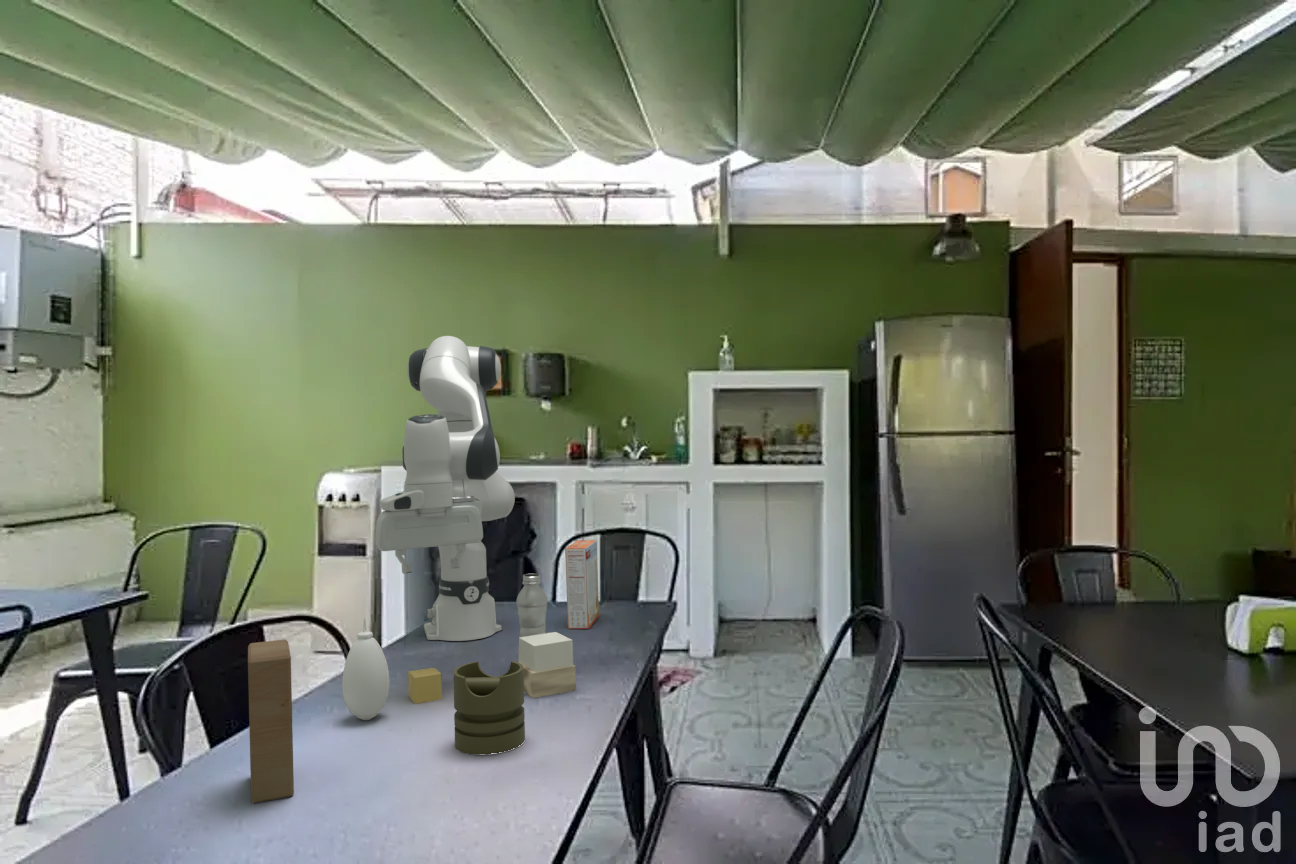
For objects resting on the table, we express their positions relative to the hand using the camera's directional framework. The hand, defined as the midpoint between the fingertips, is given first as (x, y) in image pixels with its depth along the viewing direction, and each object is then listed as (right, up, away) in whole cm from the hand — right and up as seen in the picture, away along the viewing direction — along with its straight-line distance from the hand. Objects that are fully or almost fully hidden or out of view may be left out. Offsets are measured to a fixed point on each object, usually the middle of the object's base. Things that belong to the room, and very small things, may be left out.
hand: (431, 570), depth 167 cm
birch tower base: (+21, -24, +4) cm, 32 cm away
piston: (+16, -24, -24) cm, 38 cm away
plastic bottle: (+17, -24, +18) cm, 34 cm away
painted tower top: (+21, -19, +4) cm, 29 cm away
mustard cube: (-1, -24, -1) cm, 24 cm away
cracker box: (+25, -24, +60) cm, 69 cm away
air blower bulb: (-9, -25, -12) cm, 29 cm away
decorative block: (-13, -25, -41) cm, 49 cm away
